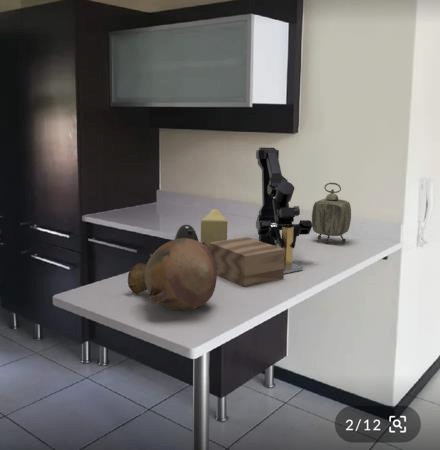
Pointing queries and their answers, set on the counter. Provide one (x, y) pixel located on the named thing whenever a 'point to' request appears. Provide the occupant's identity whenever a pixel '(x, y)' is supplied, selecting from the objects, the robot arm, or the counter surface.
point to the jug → (177, 275)
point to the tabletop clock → (331, 215)
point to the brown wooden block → (248, 261)
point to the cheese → (213, 227)
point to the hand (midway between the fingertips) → (287, 248)
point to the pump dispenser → (186, 232)
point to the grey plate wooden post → (288, 250)
